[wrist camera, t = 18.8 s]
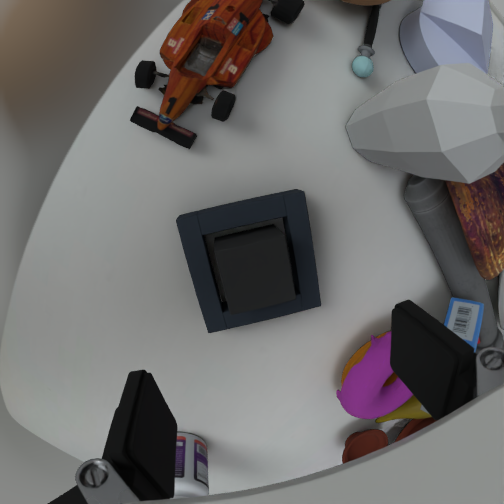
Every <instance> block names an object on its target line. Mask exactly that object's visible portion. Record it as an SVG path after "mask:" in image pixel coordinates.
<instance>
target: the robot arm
mask: <svg viewBox="0 0 504 504" xmlns="http://www.w3.org/2000/svg"><path fill="white" fill-rule="evenodd" d="M474 349H475V348H473V347H472V346H471V345H470V344H468V343H467V342H466V341H464V340H463V339H462V338H460V337H459V336H458V335H457V334H455V333H454V332H453V331H451V330H450V329H449V328H447V327H446V326H445V325H443V324H442V323H441V322H439V321H438V320H437V319H435V318H434V317H432V316H431V315H430V314H428V313H427V312H426V311H424V310H423V309H422V308H420V307H419V306H417V305H416V304H415V303H413V302H412V301H410V300H406V301H403V302H401V303H398V304H396V305H395V308H394V309H393V310H392V323H391V350H390V366H391V368H392V370H393V371H394V372H395V374H396V375H397V376H398V377H399V378H400V379H401V381H402V382H403V383H404V384H405V385H406V386H407V388H408V389H409V390H410V391H411V392H412V394H413V395H414V396H415V397H416V398H417V399H418V401H419V402H420V403H421V404H422V405H423V407H424V408H425V409H426V410H427V411H428V413H429V414H430V415H431V416H432V417H433V419H434V420H438V421H436V422H434V423H432V424H430V425H429V426H427V427H425V428H423V429H421V430H419V431H417V432H415V433H413V434H411V435H409V436H407V437H405V438H403V439H401V440H399V441H397V442H395V443H393V444H391V445H388V446H386V447H384V448H382V449H379V450H377V451H375V452H372V453H370V454H367V455H365V456H362V457H360V458H357V459H355V460H352V461H349V462H347V463H344V464H341V465H338V466H335V467H332V468H329V469H326V470H323V471H320V472H317V473H314V474H310V475H307V476H303V477H300V478H296V479H292V480H288V481H284V482H280V483H276V484H272V485H267V486H263V487H258V488H253V489H248V490H242V491H236V492H230V493H223V494H215V495H208V496H199V497H189V498H177V499H170V498H173V497H174V491H175V464H176V444H177V423H176V420H175V418H174V416H173V415H172V413H171V411H170V409H169V407H168V405H167V403H166V402H165V400H164V398H163V396H162V394H161V392H160V390H159V388H158V386H157V384H156V382H155V380H154V378H153V376H152V374H151V373H147V372H146V371H145V370H138V371H131V372H130V373H129V375H128V378H127V381H126V384H125V387H124V390H123V394H122V397H121V400H120V403H119V407H117V408H116V411H115V414H114V417H113V420H112V424H111V427H110V431H109V434H108V438H107V441H106V445H105V448H104V452H103V456H102V459H99V458H95V459H90V460H88V461H86V462H84V463H83V464H82V465H81V466H80V467H79V468H78V470H77V472H76V476H75V480H76V483H77V485H76V486H75V487H73V488H72V489H70V490H69V491H67V492H66V493H64V494H63V495H61V496H59V497H58V498H56V499H55V500H53V501H51V502H50V503H48V504H504V350H503V349H501V348H498V347H487V348H484V349H482V350H481V351H479V353H478V354H476V353H475V352H474Z"/></svg>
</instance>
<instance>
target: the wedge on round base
mask: <svg viewBox="0 0 504 504" xmlns="http://www.w3.org/2000/svg"><path fill="white" fill-rule="evenodd" d="M492 32H493V21H492V15H491V10H490V5H489V1H488V0H424V1H423V5H422V7H420V8H419V9H417V10H415V11H414V12H412V13H410V14H409V15H407V16H406V17H405V18H404V19H403V20H402V23H401V25H400V41H401V45H402V48H403V51H404V53H405V56H406V58H407V60H408V62H409V63H410V65H411V66H412V68H413V69H414V71H415V72H416V73H419V72H422V71H425V70H428V69H431V68H434V67H436V66H439V65H445V64H460V63H470V64H472V65H473V66H475V67H477V68H478V69H480V70H481V71H483V72H484V73H486V74H487V73H488V67H489V60H490V52H491V43H492Z"/></svg>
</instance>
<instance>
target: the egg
mask: <svg viewBox="0 0 504 504" xmlns="http://www.w3.org/2000/svg"><path fill="white" fill-rule="evenodd" d="M341 1H343V2H347V3H351V4H355V5H362V6H371V5H378V4H383V3H385V2H388V1H390V0H341Z"/></svg>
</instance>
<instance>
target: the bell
mask: <svg viewBox="0 0 504 504" xmlns="http://www.w3.org/2000/svg"><path fill="white" fill-rule="evenodd" d="M445 182H446V184H447V187H448V190H449V192H450V195H451V198H452V201H453V204H454V206H455V209H456V212H457V215H458V218H459V220H460V222H461V226H462V230H463V233H464V235H465V238H466V241H467V244H468V247H469V250H470V253H471V256H472V258H473V261H474V263H475V266H476V268H477V270H478V272H479V273H480V275H481V277H482V278H484V279H486V280H491V279H493V278H494V277H497V276H498V275H499V273H501V272H502V271H503V269H504V163H503V164H502V165H501V166H500V167H499V168H498V169H497V170H496V171H495V172H493V173H491V174H489V175H487V176H485V177H483V178H481V179H478V180H476V181H474V182H472V183H470V184H469V183H462V182H455V181H448V180H445Z"/></svg>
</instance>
